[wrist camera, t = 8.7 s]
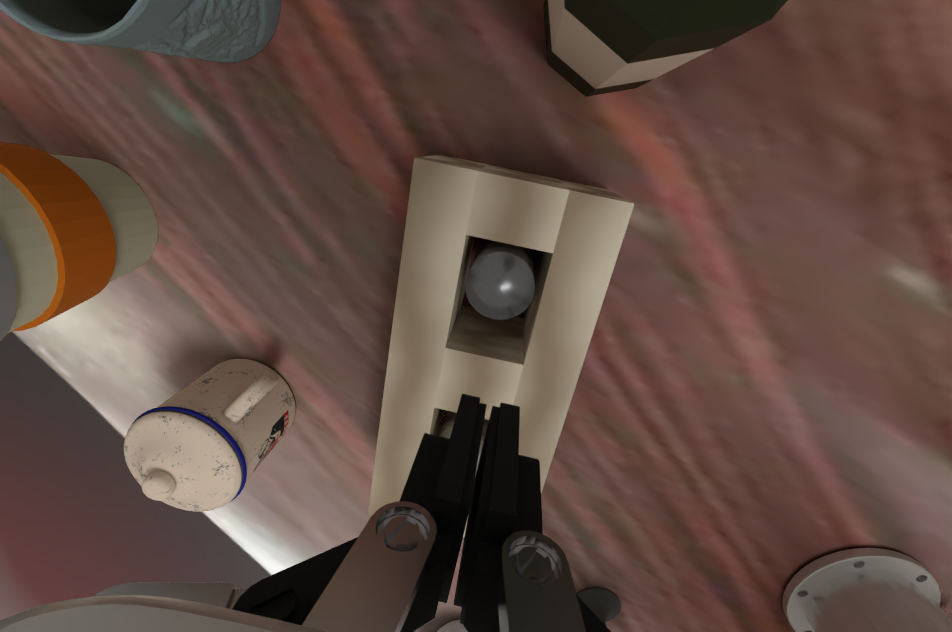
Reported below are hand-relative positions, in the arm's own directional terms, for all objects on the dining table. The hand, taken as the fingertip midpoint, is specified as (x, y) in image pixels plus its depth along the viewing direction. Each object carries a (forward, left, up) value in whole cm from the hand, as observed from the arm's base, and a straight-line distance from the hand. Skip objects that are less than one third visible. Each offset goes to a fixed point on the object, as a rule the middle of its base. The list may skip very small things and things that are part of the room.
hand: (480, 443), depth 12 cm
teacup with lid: (+19, +17, -23) cm, 34 cm away
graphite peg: (0, 0, -22) cm, 22 cm away
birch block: (0, +7, -22) cm, 23 cm away
